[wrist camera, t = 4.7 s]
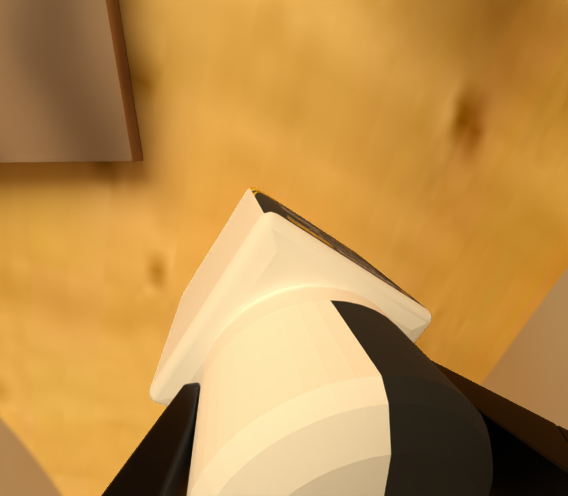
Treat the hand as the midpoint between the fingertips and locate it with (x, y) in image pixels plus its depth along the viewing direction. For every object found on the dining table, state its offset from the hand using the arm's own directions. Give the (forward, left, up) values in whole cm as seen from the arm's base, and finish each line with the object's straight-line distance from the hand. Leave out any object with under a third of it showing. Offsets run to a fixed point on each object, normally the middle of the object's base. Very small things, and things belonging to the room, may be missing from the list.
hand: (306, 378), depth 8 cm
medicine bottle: (0, 0, -8) cm, 8 cm away
